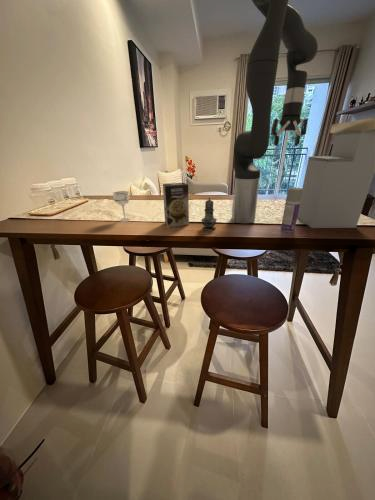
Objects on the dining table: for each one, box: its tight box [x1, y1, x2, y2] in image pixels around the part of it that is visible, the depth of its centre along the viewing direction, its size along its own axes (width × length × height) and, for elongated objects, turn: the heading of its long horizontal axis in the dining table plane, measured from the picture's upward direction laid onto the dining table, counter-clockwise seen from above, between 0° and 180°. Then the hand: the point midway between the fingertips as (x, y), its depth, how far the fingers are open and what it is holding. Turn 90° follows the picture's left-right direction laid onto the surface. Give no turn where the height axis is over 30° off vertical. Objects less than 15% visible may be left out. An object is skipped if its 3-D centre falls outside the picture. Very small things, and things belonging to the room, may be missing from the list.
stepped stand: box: [297, 129, 375, 229], centre depth 79 cm, size 16×14×32 cm
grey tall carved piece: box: [201, 197, 218, 232], centre depth 80 cm, size 6×6×12 cm
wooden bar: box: [329, 117, 375, 134], centre depth 73 cm, size 4×24×3 cm, turn 177°
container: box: [280, 187, 303, 233], centre depth 76 cm, size 5×5×15 cm
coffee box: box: [162, 182, 190, 228], centre depth 85 cm, size 9×6×16 cm
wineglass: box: [112, 190, 131, 223], centre depth 93 cm, size 7×7×12 cm
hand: (285, 146), depth 95 cm, fingers open, 8 cm apart
